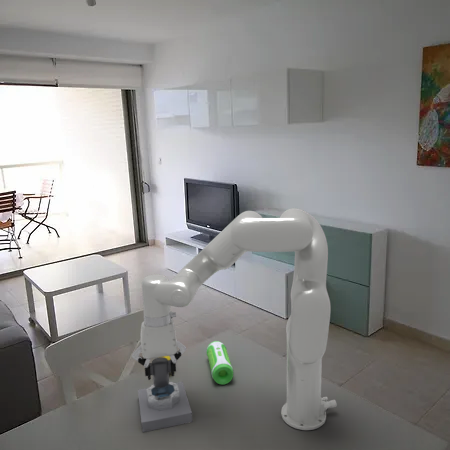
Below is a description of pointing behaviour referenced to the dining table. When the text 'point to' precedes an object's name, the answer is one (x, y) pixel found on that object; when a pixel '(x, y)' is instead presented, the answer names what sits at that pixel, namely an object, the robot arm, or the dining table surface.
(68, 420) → the dining table surface
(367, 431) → the dining table surface
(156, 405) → the octagonal blue-lined ring
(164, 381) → the dark grey domed knob
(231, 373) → the speaker
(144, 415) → the plate with octagonal ring
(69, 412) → the dining table surface
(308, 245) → the robot arm
